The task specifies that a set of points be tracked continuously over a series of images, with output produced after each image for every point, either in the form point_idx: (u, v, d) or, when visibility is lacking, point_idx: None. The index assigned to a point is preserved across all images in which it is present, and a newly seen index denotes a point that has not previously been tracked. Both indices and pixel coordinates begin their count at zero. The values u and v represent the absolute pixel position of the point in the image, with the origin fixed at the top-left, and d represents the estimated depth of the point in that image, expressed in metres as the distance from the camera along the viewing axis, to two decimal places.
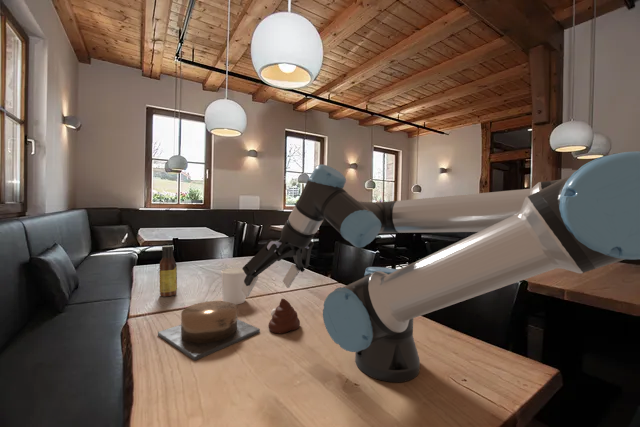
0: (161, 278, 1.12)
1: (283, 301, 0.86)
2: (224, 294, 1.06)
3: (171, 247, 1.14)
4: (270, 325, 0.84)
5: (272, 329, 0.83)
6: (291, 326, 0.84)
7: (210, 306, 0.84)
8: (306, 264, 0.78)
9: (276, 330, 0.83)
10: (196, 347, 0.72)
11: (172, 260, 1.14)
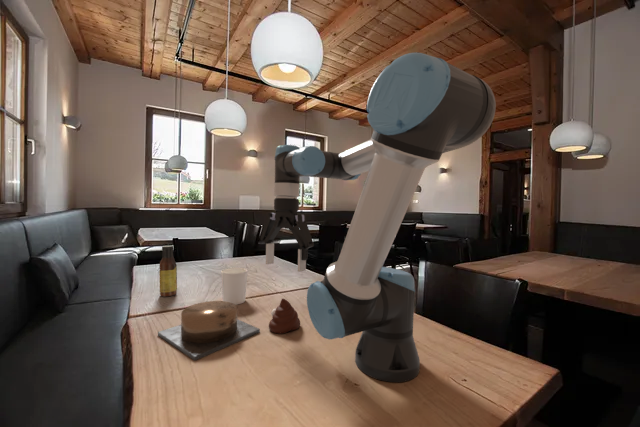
0: (161, 278, 1.12)
1: (283, 301, 0.86)
2: (224, 294, 1.06)
3: (171, 247, 1.14)
4: (270, 325, 0.84)
5: (272, 329, 0.83)
6: (291, 326, 0.84)
7: (210, 306, 0.84)
8: (305, 242, 0.80)
9: (276, 330, 0.83)
10: (196, 347, 0.72)
11: (172, 260, 1.14)
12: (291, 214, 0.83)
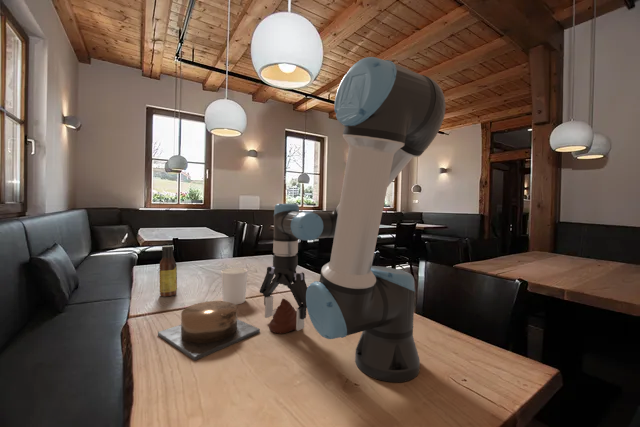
0: (161, 278, 1.12)
1: (284, 301, 0.86)
2: (224, 294, 1.06)
3: (171, 247, 1.14)
4: (271, 325, 0.84)
5: (273, 329, 0.83)
6: (292, 326, 0.84)
7: (210, 306, 0.84)
8: (303, 302, 0.81)
9: (276, 330, 0.83)
10: (196, 347, 0.72)
11: (172, 260, 1.14)
12: (289, 272, 0.84)
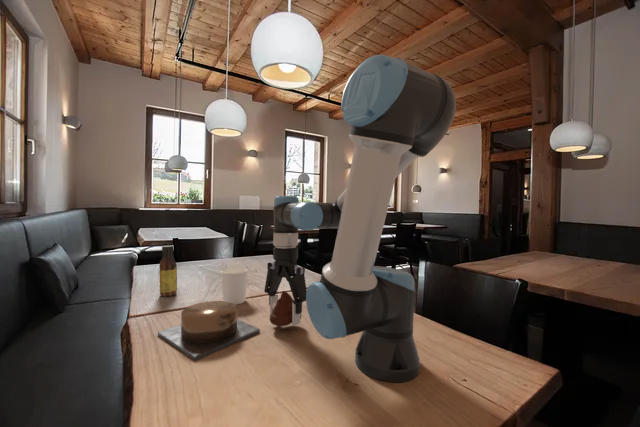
0: (161, 278, 1.12)
1: (284, 294, 0.86)
2: (224, 294, 1.06)
3: (171, 247, 1.14)
4: (271, 318, 0.84)
5: (273, 322, 0.83)
6: None
7: (210, 306, 0.84)
8: (299, 297, 0.82)
9: (277, 323, 0.82)
10: (196, 347, 0.72)
11: (172, 260, 1.14)
12: (290, 264, 0.84)
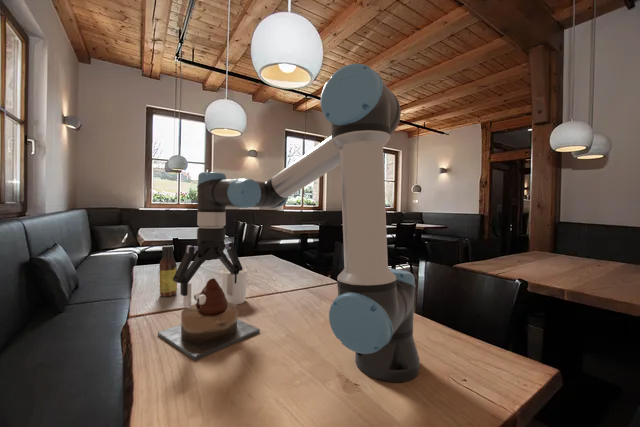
0: (161, 278, 1.12)
1: (215, 280, 0.81)
2: None
3: (171, 247, 1.14)
4: (217, 307, 0.78)
5: (222, 309, 0.79)
6: None
7: None
8: (239, 266, 0.88)
9: (225, 308, 0.80)
10: (196, 347, 0.72)
11: (172, 260, 1.14)
12: (222, 243, 0.83)
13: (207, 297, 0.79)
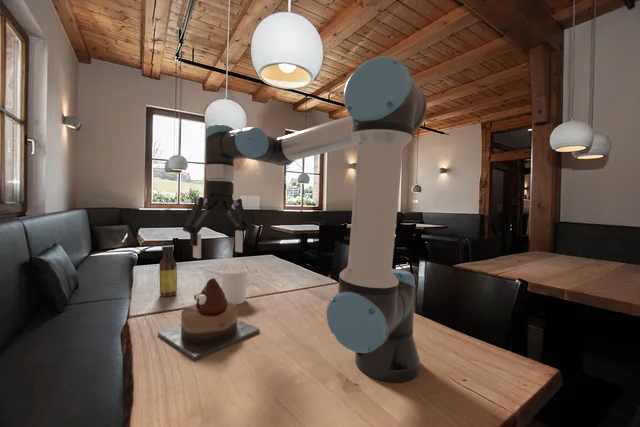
0: (161, 278, 1.12)
1: (215, 280, 0.81)
2: None
3: (171, 247, 1.14)
4: (217, 307, 0.78)
5: (222, 309, 0.79)
6: None
7: None
8: (246, 224, 0.88)
9: (225, 308, 0.80)
10: (196, 347, 0.72)
11: (172, 260, 1.14)
12: (231, 198, 0.83)
13: (207, 297, 0.79)
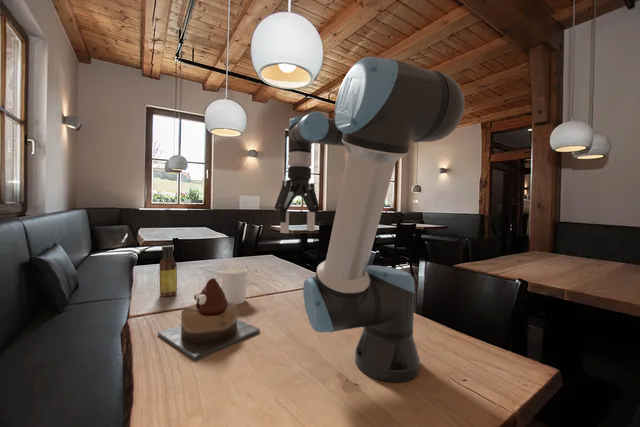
0: (161, 278, 1.12)
1: (215, 280, 0.81)
2: None
3: (171, 247, 1.14)
4: (217, 307, 0.78)
5: (222, 309, 0.79)
6: None
7: None
8: (317, 206, 0.99)
9: (225, 308, 0.80)
10: (196, 347, 0.72)
11: (172, 260, 1.14)
12: (307, 182, 0.94)
13: (207, 297, 0.79)
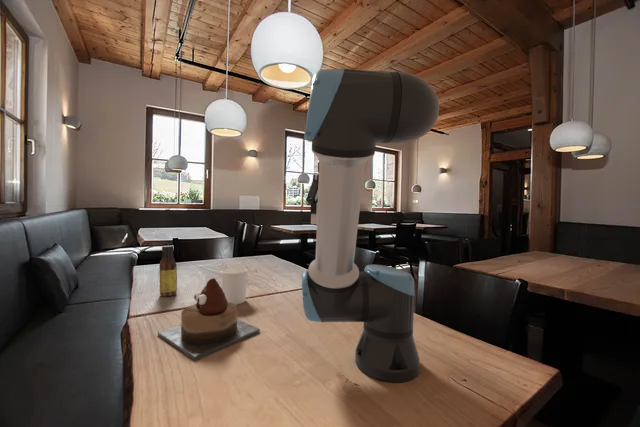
0: (161, 278, 1.12)
1: (215, 280, 0.81)
2: None
3: (171, 247, 1.14)
4: (217, 307, 0.78)
5: (222, 309, 0.79)
6: None
7: None
8: None
9: (225, 308, 0.80)
10: (196, 347, 0.72)
11: (172, 260, 1.14)
12: None
13: (207, 297, 0.79)
